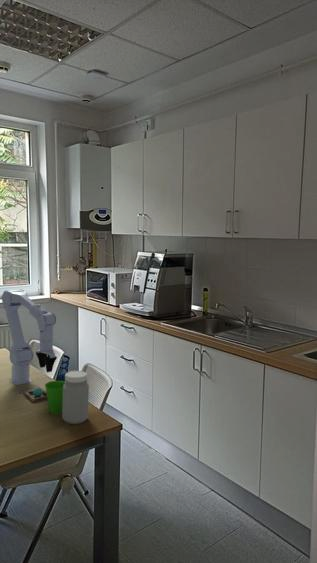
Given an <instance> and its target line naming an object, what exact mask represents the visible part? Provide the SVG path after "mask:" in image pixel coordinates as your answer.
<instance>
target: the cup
mask: <svg viewBox="0 0 317 563" xmlns="http://www.w3.org/2000/svg"><path fill="white" fill-rule="evenodd" d="M64 384H65V380H51V381H48V382H46V383H45V384H44V387H45V391H46V392H47V399H48V400H47V405H48V411H49V412H50V414H55V415H56V414H62V408H63V386H64Z"/></svg>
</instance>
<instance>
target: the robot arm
mask: <svg viewBox="0 0 317 563" xmlns="http://www.w3.org/2000/svg"><path fill="white" fill-rule="evenodd" d="M2 292H3V293H2V295H1V302H2V306H3V307H2V308H3V310H4V312H5V314H6V319H7V323H8V328H9V333H10V335H11V340H12V344H13V345H12V346H11V347H10V349H9V350H8V351H9V361H10V363H11V378H9V380H10V381H11V382H12V383H13V384H14V385H15V386H16V385H17V386H18V385H22V384H29V383H33V380H31V379H30V374H31V373H30V370H31V369H30V368H31V367H30V365H31V364H30V363H32V361H33V359H34V351H33V349H32V347H31V344H30V343H28V342H26V341H25V337H24V333H23V328H22V324H21V319H20V316H19V312H18V310H19V308H21V307H22V306H24V307H25V308H26V309H27V310H29V311H28V312H29V314H30V315H31V316H32V318H34V319H35V320H36V323H37V325H38V331H39V345H38V346H37V350H36V351H35V355H36V357H37V360H38V364H39V367H40V369H41V368H45V370H46V373H52V371H53V367H54V364H55V362H56V360H57V359H58V356H57V355H56V353H55V352H54V349H53V348H54V325H55V324H56V322H57V316H56V314H55V313H54V312H52V311H51V312H50V311H47V310H46V309H45V308H43V306H42V304H40V303H34V302H33V300H31V298H30V297H29V296H28V292H26V291H25V289H22V288H21V289H14V290H7V289H6V290H4V291H2Z"/></svg>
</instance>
